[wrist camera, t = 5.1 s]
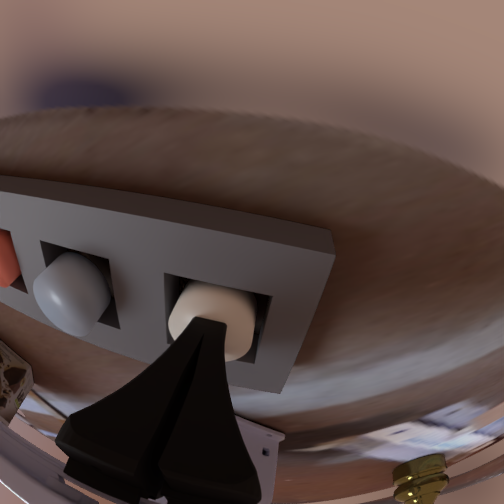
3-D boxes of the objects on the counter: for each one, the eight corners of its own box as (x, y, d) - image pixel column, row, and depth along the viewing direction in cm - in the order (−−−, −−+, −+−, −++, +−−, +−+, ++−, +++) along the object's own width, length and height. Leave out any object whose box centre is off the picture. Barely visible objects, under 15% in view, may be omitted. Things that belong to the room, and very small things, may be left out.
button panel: (330, 230, 12) (336, 255, 10) (282, 366, 16) (280, 393, 15) (-23, 173, 12) (-43, 184, 11) (3, 280, 17) (-11, 295, 15)
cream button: (264, 282, 13) (258, 313, 11) (251, 337, 15) (245, 368, 13) (183, 265, 13) (167, 292, 11) (182, 322, 15) (169, 350, 13)
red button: (22, 225, 13) (0, 242, 11) (35, 275, 15) (16, 294, 13) (-9, 217, 13) (-29, 231, 12) (4, 263, 15) (-14, 279, 13)
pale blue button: (105, 260, 12) (82, 287, 10) (115, 318, 14) (98, 345, 12) (49, 245, 12) (25, 267, 10) (63, 300, 14) (44, 323, 12)
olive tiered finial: (388, 465, 26) (391, 535, 17) (446, 447, 23) (456, 517, 14) (394, 476, 28) (397, 535, 20) (444, 460, 26) (451, 520, 17)
